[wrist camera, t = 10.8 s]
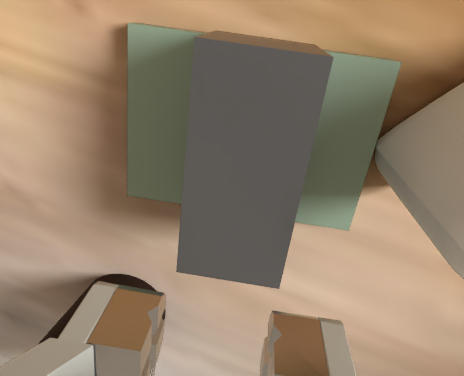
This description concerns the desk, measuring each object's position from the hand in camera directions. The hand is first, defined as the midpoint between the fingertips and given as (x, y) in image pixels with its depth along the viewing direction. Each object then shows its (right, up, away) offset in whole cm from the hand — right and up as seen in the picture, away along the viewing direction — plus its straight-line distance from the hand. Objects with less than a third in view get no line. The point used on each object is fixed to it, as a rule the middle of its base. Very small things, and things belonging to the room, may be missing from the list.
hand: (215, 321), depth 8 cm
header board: (+1, +6, +14) cm, 15 cm away
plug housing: (+1, +6, +13) cm, 14 cm away
